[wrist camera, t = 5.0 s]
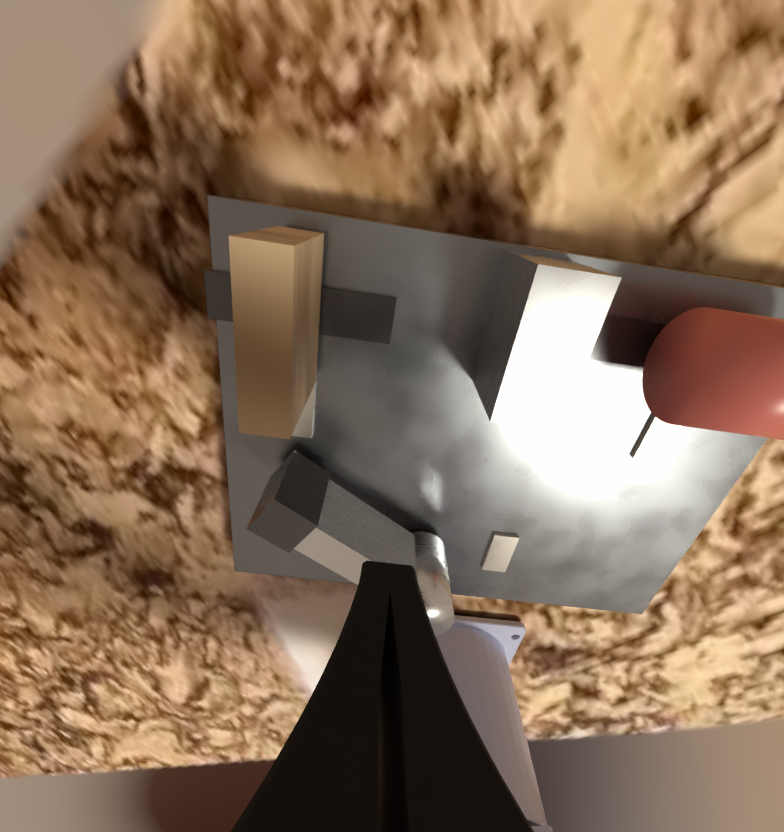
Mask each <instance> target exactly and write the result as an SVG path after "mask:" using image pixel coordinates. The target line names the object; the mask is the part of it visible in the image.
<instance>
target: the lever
mask: <svg viewBox="0 0 784 832" xmlns="http://www.w3.org/2000/svg"><path fill="white" fill-rule="evenodd" d="M330 474H331V473H329V472H328V471H326V470H324V469H323V468H321V467H320V466H318V465H317V464H315V463H314V462H312V461H311V460H309V459H308V458H306V457H305V456H303V455H302V454H300V453H299V452H297V451H296V450H294V451H293V452H292V453H291V454H290V455H289V456H288V458H287V459H286V460H285V461H284V462H283V463H282V464H281V465H280V466H279V468H278V469H277V470H276V471H275V472H274V473H273V474H272V475H271V476H270V479H269V481H268V483H267V485H266V487H265V489H264V492H263V494H262V496H261V498H260V500H259V502H258V505H257V507H256V509H255V511H254V513H253V515H252V518H251V520H250V522H249V524H248V526H247V528H246V529H247V530H249V531H250V532H252V533H254V534H256V535H258V536H259V537H261V538H263V539H265V540H266V541H268V542H270V543H272V544H274V545H275V546H277V547H279V548H281V549H282V550H284V551H286V552H288V553H290V552H291V551H292V550H293V549H295V550H297V551H299V552H300V553H302V554H304V555H306V556H307V557H309V558H311V559H313V560H314V561H316V562H318V563H320V564H321V565H323V566H325V567H327V568H328V569H330V570H332V571H334V572H335V573H337V574H339V575H341V576H342V577H344V578H346V579H348V580H349V581H351V582H353V583H355V584H357V585H358V584H359V580H360V575H361V569H362V563H363V562H365V561H376V562H385V563H394V564H403V565H412V566H413V567H414V569H415V572H416V577H417V581H418V585H419V588H420V592H421V595H422V599H423V602H424V605H425V608H426V611H427V614H428V617H429V620H430V623H431V626H432V629H433V631H434V634H435V636H438V635H440V634H443V633H444V632H446V631H447V630H449V629H450V628H451V626H452V625H453V623H454V619H455V618H454V610H453V603H452V596H451V589H450V581H449V574H448V567H447V560H446V553H445V546H444V543H443V542H442V540H441V539H440V538H439V537H437V536H436V535H434V534H432V533H428V532H412V533H410V532H409V531H407V530H406V529H404V528H403V527H401V526H400V525H398V524H397V523H395V522H394V521H392V520H391V519H389V518H388V517H386V516H385V515H383V514H381V513H380V512H378V511H377V510H375V509H374V508H372V507H371V506H369V505H368V504H366V503H365V502H363V501H362V500H360V499H359V498H357V497H356V496H354V495H353V494H351V493H350V492H348V491H346V490H345V489H343V488H342V487H340V486H339V485H337V484H336V483H334V482H333V481H331V480H330V479H329V478H330Z"/></svg>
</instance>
